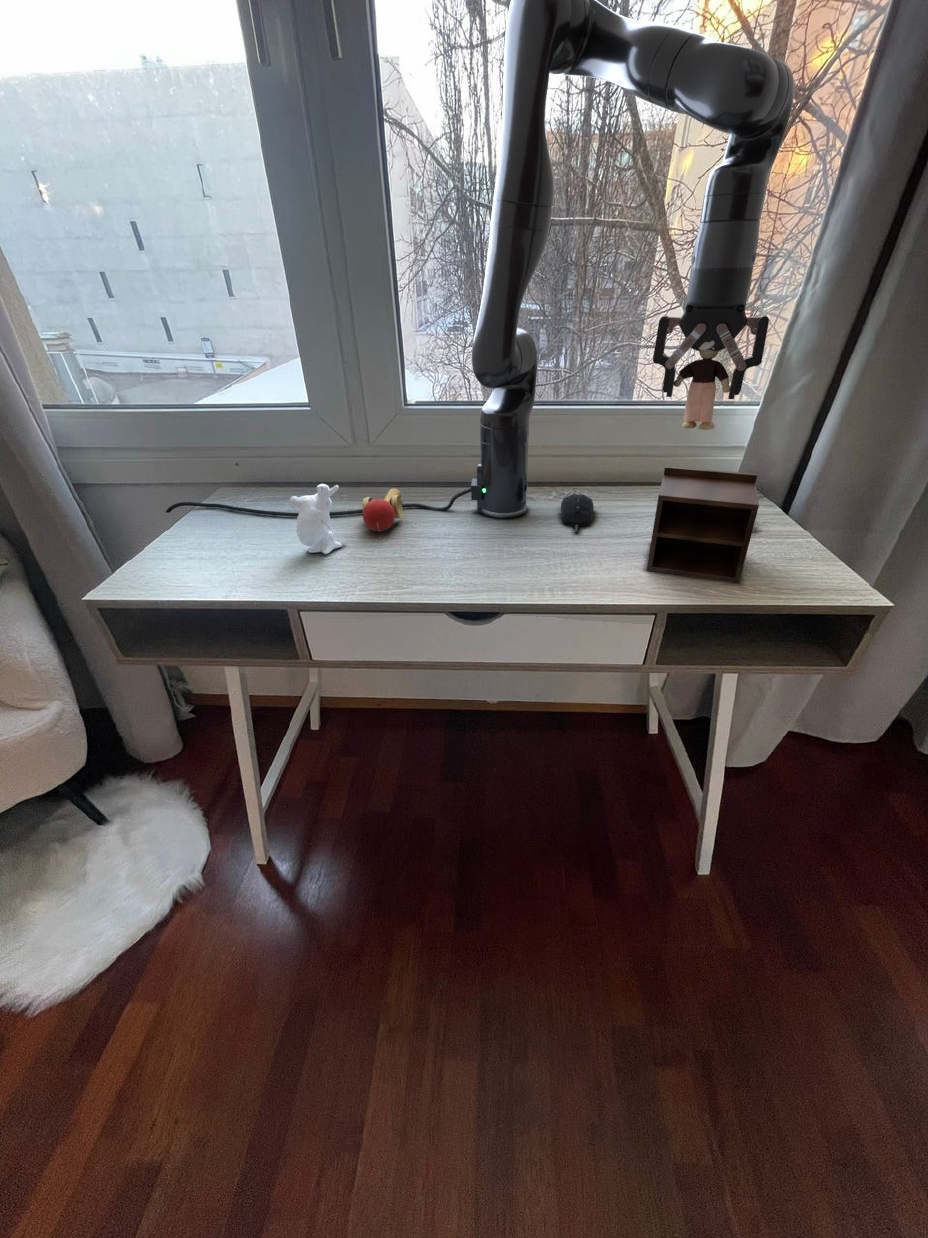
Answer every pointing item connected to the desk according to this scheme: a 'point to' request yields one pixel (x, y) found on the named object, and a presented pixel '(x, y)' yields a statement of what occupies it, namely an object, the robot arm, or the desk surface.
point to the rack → (703, 523)
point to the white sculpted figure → (316, 520)
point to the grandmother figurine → (702, 387)
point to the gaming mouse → (577, 510)
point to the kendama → (382, 510)
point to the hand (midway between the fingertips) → (699, 397)
